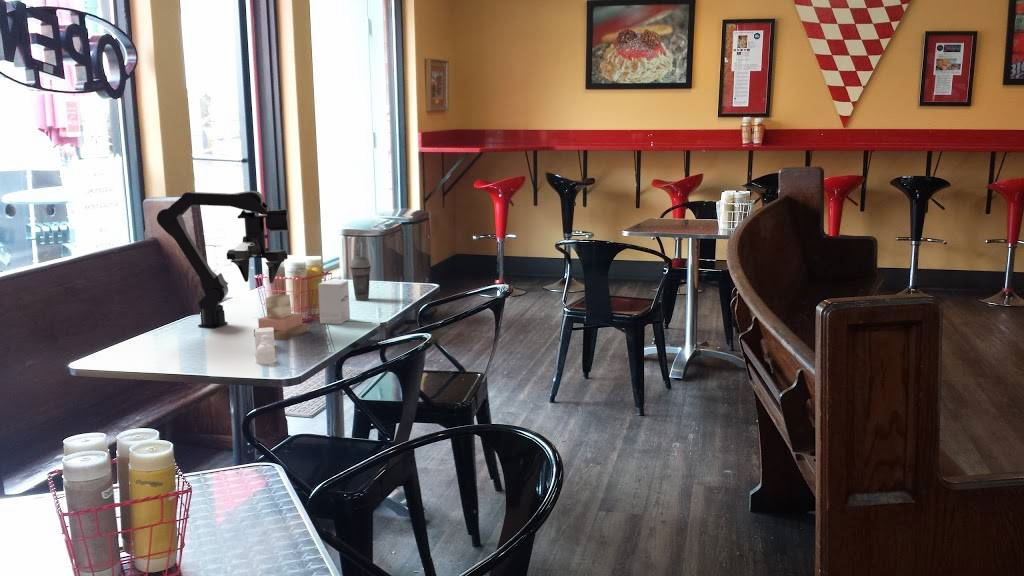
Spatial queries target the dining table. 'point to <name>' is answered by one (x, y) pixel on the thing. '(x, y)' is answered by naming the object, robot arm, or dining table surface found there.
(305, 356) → the dining table surface
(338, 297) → the supplement box
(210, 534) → the dining table surface
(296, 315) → the terracotta top slab
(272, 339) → the container set
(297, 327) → the walnut base slab
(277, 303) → the birch cube
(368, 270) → the beverage cup
